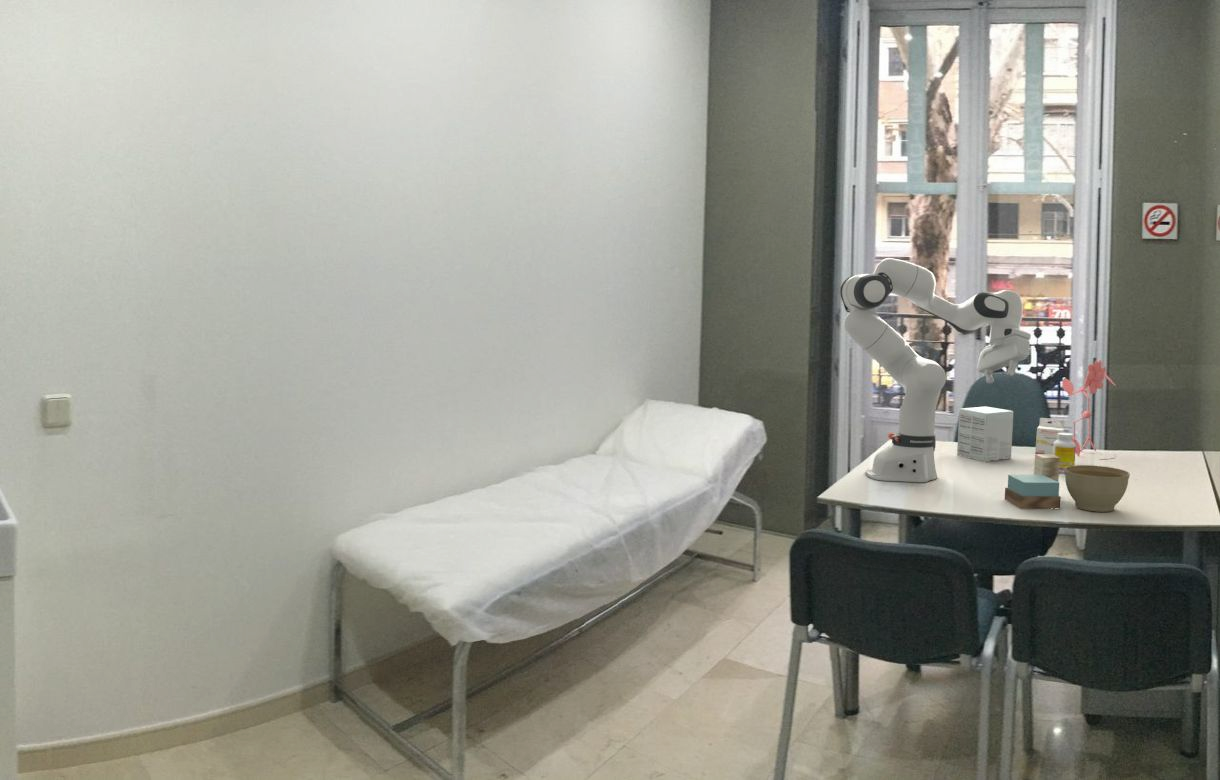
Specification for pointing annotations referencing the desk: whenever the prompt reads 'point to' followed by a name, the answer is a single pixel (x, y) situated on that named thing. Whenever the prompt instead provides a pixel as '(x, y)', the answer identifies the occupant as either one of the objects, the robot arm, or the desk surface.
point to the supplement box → (985, 433)
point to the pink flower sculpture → (1093, 382)
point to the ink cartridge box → (1048, 435)
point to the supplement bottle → (1064, 450)
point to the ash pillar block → (1047, 466)
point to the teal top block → (1033, 485)
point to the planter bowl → (1096, 486)
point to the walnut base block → (1032, 501)
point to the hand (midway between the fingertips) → (999, 378)
